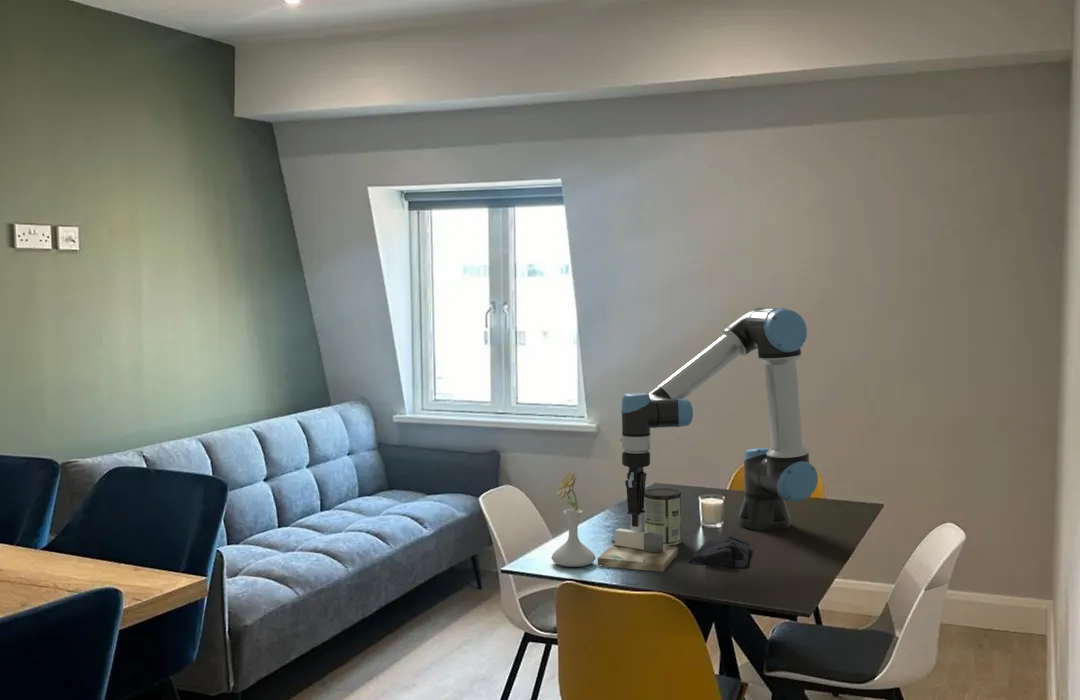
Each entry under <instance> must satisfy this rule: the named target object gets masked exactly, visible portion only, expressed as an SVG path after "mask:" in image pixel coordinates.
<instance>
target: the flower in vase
mask: <svg viewBox="0 0 1080 700" xmlns="http://www.w3.org/2000/svg"><path fill="white" fill-rule="evenodd" d="M577 478H578V477H577V474H576V471H575V470H572V471H571V470H568V471H567V472H566V473H565V475H562V476H561V480H560V481H559V484H558V485H557V489H558V490H557V493H556V497H558V500H563V499H565V498H566V501H567V503H568V504H569V505H571V507H573V509H565V510H563V513H564V516H565V517H566V520H567V523H568V524H567V525H568V538H567V540H566V542H564V543H563V544H562V545H561V546H559V548H557V549H556V550H555V551H554V552H553V553H552V555H551V560H552V562H553V563H554V564H557V565H559V566H562V567H568V568H569V567H570V568H575V567H577V568H579V567H585V566H588V565H590V564H593V563H594V562H595V560H596V559H597V558H596V555H595V553H594V552H593V551H592V550H591V549H590V548H588V547H587V546H586V545H585V544H583V542H581V541H580V538H579V535H578V534H579V532H578V527H579V521H580V518H581V515H582V514H583V513H584V511H583V510H581V509H579V500H577V496H576V493H575V492H574V488H575V486H576V485H575V484H576V482H577ZM571 492H572V495H573V497H574V500H573V498H571V496H570V493H571Z"/></svg>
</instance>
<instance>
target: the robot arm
mask: <svg viewBox="0 0 1080 700" xmlns="http://www.w3.org/2000/svg"><path fill="white" fill-rule="evenodd" d="M807 337H808V328H807V324H806V321H805V320H804V319H803V317H802V316H801V315H800V314H799V313H798V312H796V311H794V310H792V309H788V308H784V307H757V308H754V309H752V310H749V311H748V312H745V314H743V315H742V316H740V317H739V318H737V319H736V320H735V321H734V322H732V323H731V324H730V325H728V326H727V327H726V328H724V329H723V330H722V331H721V336H720V337H719V338H718V339H716V340H715V341H713V342H712V343H711V344H710V345H709V346H707V347H706V348H705V349H704V350H702V351H701V352H699V353H698V354H696V356H695V357H693V358H692V359H691V360H689V361H688V362H687V363H686V364H684V365H683V366H682V367H680V368H679V369H678V370H677V371H676V372H674V373H673V374H671V375H670V376H669V377H668V378H667V379H665V380H664V381H662V382H661V383H660V384H659V385H658V386H656V387H655V388H654V389H652V390H651V391H650V392H629V393H628V392H627V393H625V394H623V395H622V399H621V400H622V401H621V411H620V412H621V429H622V430H621V435H622V436H621V437H620V442H622V443H621V449H622V450H623V451H622V452H621V464H622V465H623V466H624V467H628V472H627V475H626V479H625V482H624V483H625V487H626V498H627V514H628V515H630V530H634V531H640V532H643V528H642V527H643V525H642V524H643V514H644V513H645V510H644V498H645V490H646V481H647V480H646V479H647V475H648V474H647V472H646V471H644V468H646V467H649V466H650V465H651V453H650V450H651V429H657V428H658V429H659V428H680V427H687V426H690V425H691V423H692V421H693V418H694V410H693V405H692V403H691V402H690V400H689V399H688V398H687V397H688V396H690V395H691V394H692V393H693V392H695V391H696V390H698V389H699V388H700V387H701V386H702V385H704V384H705V383H707V382H708V381H709V380H711V378H713V377H714V376H715V375H717V374H718V373H719V372H721V371H722V370H723V369H724V368H726V367H727V366H729V364H731V363H732V362H733V361H735V360H736V359H737V358H738V357H741V358H742V357H746V356H747V355H748V354H749V353H751V352H753V351H755V350H757V353H758V354H757V355H758V356H757V357H758V359H759V360H760V361H761V362H763V365H764V373H765V385H766V386H765V387H766V397H767V411H768V412H767V413H768V423H769V425H768V426H769V435H770V436H769V438H770V447H756V448H755V447H753V448H748V449H747V450H745V451H744V459H743V463H744V466H743V468H744V471H743V473H744V475H743V476H744V478H743V481H744V484H743V485H744V486H743V488H744V490H743V491H744V493H743V494H744V495H743V497H744V499H743V501H742V504H741V507H740V511H739V513H738V517H737V518H738V520H737V521H738V522H737V524H738V523H739V524H740V525H741V526H740V525H739V524H738V525H739V526H740V527H742V526H743V527H742V528H744V527H746V528H745V529H748V528H751V529H750V530H753V529H756V530H755V531H763V530H766V531H767V530H768V531H767V532H771V531H772V530H774V531H781V530H787V529H789V528H790V527H791V526H790V525H792V523H791V516H790V512H789V510H788V507H787V503H786V501H788V502H790V501H791V502H794V503H796V502H797V503H799V502H803V501H805V500H807V499H809V498H810V497H811V496H812V494H813V493H814V492H815V491H816V489H817V486H818V483H819V474H818V471H817V469H816V468H815V467H814V465H812V463H810V454H809V453H810V452H809V450H808V449H807V448H806V447H804V444H803V438H802V437H803V436H802V425H801V412H800V411H801V410H800V398H799V384H798V383H799V382H798V371H797V360H798V359H800V358H801V356H802V351H801V348H802V347H803V346H804V343H805V342H806V340H807ZM788 527H789V528H788ZM786 528H787V529H786Z"/></svg>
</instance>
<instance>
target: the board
mask: <svg viewBox="0 0 1080 700" xmlns="http://www.w3.org/2000/svg"><path fill="white" fill-rule="evenodd" d="M677 554H678V555H679V546H675V545H673V546H663V551H662V552H656V553H652V552H646V551H644V550H642V549H636V548H630V547H624V546H618V545H615V544H613V543H612V545H611V546H609V547H608V548H607V549H606V550H605V551H604V552H603V553H601V555H599V556H598V557H597V566H598V565H601V566H600V567H607V566H610V568H617V567H619V568H620V569H629V570H631V569H632V570H640V571H641V570H642V571H650V572H651V571H652V572H653V571H654V572H661V573H663V572H664V571H665V570H666V568H667V567H668V566H669V565H670V564H671V563H672V562H673V561H674V559H676V557H677V556H678V555H677ZM672 560H673V561H672Z"/></svg>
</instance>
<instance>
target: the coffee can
mask: <svg viewBox="0 0 1080 700" xmlns="http://www.w3.org/2000/svg"><path fill="white" fill-rule="evenodd" d="M681 495H682V491H680V490H678V489H676V488H667V487H663V488H661V487H657V488H650V489H649V488H648V489H645V498H644V509H643V510H645V513H643V514H644V532H647V533H661V534H663V546H670V545H673V546H677V545H679V543H680V544H681V543H682V535H681V534H682V528H681V527H682V519H681V517H682V515H681V514H682V512H681V511H682V508H681V507H682V505H681V504H682V502H681V497H682V496H681ZM676 544H677V545H676Z"/></svg>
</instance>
